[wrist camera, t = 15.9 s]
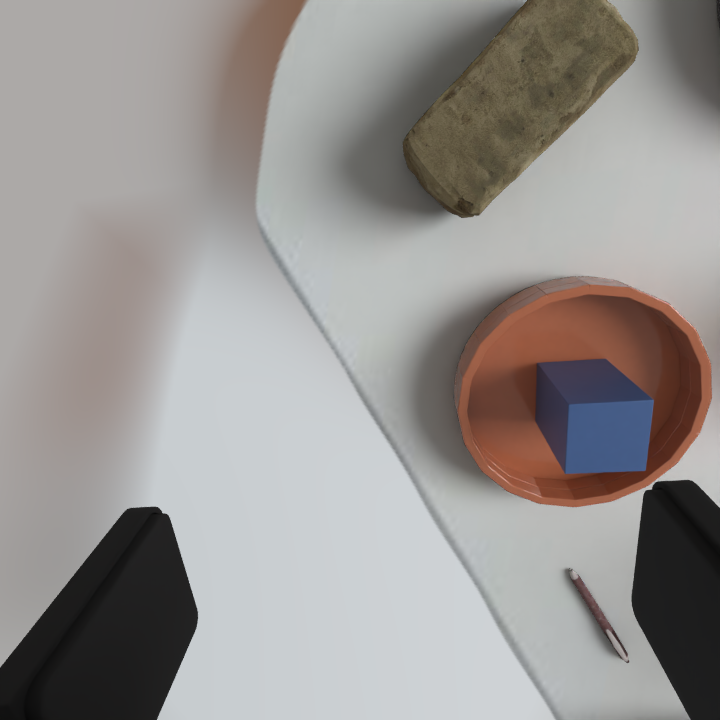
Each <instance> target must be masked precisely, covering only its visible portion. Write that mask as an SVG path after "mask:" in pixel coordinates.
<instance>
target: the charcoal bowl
mask: <svg viewBox="0 0 720 720" xmlns="http://www.w3.org/2000/svg"><path fill="white" fill-rule="evenodd" d="M717 8H718V22H719V28H720V0H717Z"/></svg>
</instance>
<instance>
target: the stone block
mask: <svg viewBox="0 0 720 720" xmlns="http://www.w3.org/2000/svg"><path fill="white" fill-rule="evenodd" d="M638 51H639V48H638V39H637V37H636V35H635V33H634V32H633V30H632V29H631V27H630V26H629V25H628V24H627V23H626V22H625V21H624V20H623V19H622V17H621V15H620V14H619V12H618V11H617V9H616V7H615V6H614V5H612V4H611V3H609V2H608V1H607V0H527V1H526V2H525V4H524V5H523V6H522V7H521V8H520V9H519V10H518V12H517V13H516V14H515V15H514V16H513V17H512V18H511V19H510V20H509V22H508V23H507V24H506V25H505V26H504V27H503V29H502V30H501V31H500V32H499V33H498V34H497V35H496V37H495V38H494V39H493V40H492V41H491V42H490V43H489V45H488V46H487V47H486V48H485V49H484V50H483V52H482V53H481V54H480V55H479V56H478V57H477V58H476V59H475V60H474V62H473V63H472V64H471V65H470V66H469V67H468V68H467V69H466V71H465V72H464V73H463V74H462V75H461V76H460V77H459V78H458V79H457V80H456V81H455V82H454V83H453V84H452V85H451V86H450V87H449V88H448V89H447V90H446V91H445V92H444V93H443V94H442V95H441V96H440V97H439V98H438V99H437V100H436V102H435V103H434V104H433V105H432V106H431V107H430V108H429V109H428V111H427V112H426V113H425V114H424V115H423V116H422V117H421V118H420V120H419V121H418V122H417V123H416V124H415V125H414V126H413V128H412V129H411V130H410V131H409V133H408V134H407V136H406V137H405V139H404V141H403V153H404V157H405V160H406V163H407V166H408V168H409V169H410V171H411V172H412V173H413V174H414V175H415V176H416V178H417V179H418V181H419V183H420V184H421V186H422V187H423V188H424V189H425V190H426V191H427V192H428V193H429V194H430V195H431V196H432V197H433V198H435V199H436V200H437V201H438V202H439V203H440V204H441V205H442V206H443V207H444V208H445V209H446V210H447V211H449V212H451V213H452V214H455V215H458V216H460V217H461V218H466V217H473V216H474V215H476V216H478V215H480V214H481V213H482V211H483V210H484V209H485V208H486V207H487V206H488V205H489V204H490V203H491V202H492V200H493V199H494V198H495V197H496V196H498V195H499V194H500V193H501V192H502V191H503V190H504V189H505V188H506V187H507V186H508V185H509V184H510V183H511V182H513V181H514V180H515V179H516V178H517V177H518V176H519V175H520V174H521V173H522V172H523V171H524V170H525V169H526V168H527V167H528V166H529V165H530V164H531V163H532V162H533V161H534V160H535V159H536V158H537V157H538V156H539V155H541V154H542V153H543V152H544V151H545V150H546V149H547V148H548V147H549V146H550V145H551V144H552V143H553V142H554V141H555V140H557V139H558V138H559V137H560V136H561V135H562V134H563V133H564V132H565V131H566V130H567V129H568V128H569V127H570V126H571V125H572V124H573V123H574V122H575V121H576V120H577V119H578V118H579V117H580V116H581V115H582V114H584V113H585V112H586V111H587V110H588V109H589V108H590V107H591V106H592V105H593V104H594V103H595V102H596V101H597V99H598V98H599V97H600V96H601V95H602V94H603V93H604V92H605V91H606V90H607V89H608V88H609V87H610V86H611V85H612V84H613V83H614V82H615V81H616V80H617V79H618V78H619V77H620V76H621V75H622V74H623V73H624V72H625V71H626V70H627V69H628V68H629V67H630V66H631V65H632V63H633V62H634V61H635V58H636V55H637V53H638Z"/></svg>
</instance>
